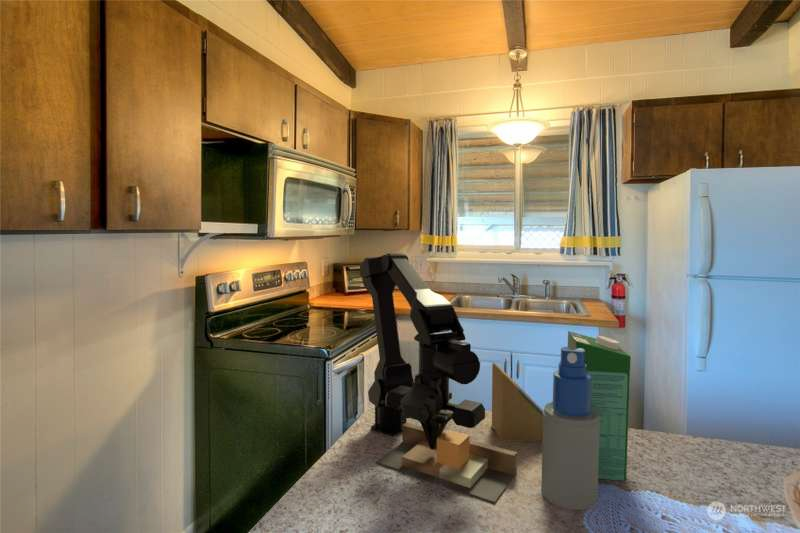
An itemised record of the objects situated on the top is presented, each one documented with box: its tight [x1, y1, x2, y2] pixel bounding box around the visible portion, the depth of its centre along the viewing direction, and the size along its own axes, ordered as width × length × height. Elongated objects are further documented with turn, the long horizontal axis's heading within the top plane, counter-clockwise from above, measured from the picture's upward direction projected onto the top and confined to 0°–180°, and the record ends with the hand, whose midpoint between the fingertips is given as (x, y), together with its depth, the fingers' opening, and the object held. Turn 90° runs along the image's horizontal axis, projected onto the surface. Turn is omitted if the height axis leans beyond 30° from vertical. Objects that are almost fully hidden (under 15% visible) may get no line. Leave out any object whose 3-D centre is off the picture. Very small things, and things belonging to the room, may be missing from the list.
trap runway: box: [375, 422, 518, 504], centre depth 83 cm, size 24×11×4 cm, turn 57°
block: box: [437, 429, 471, 469], centre depth 82 cm, size 4×4×4 cm
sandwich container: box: [491, 362, 544, 442], centre depth 98 cm, size 9×15×15 cm, turn 93°
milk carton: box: [567, 330, 632, 482], centre depth 83 cm, size 9×9×25 cm
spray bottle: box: [540, 346, 600, 511], centre depth 74 cm, size 9×9×25 cm
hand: (433, 448), depth 84 cm, fingers closed
